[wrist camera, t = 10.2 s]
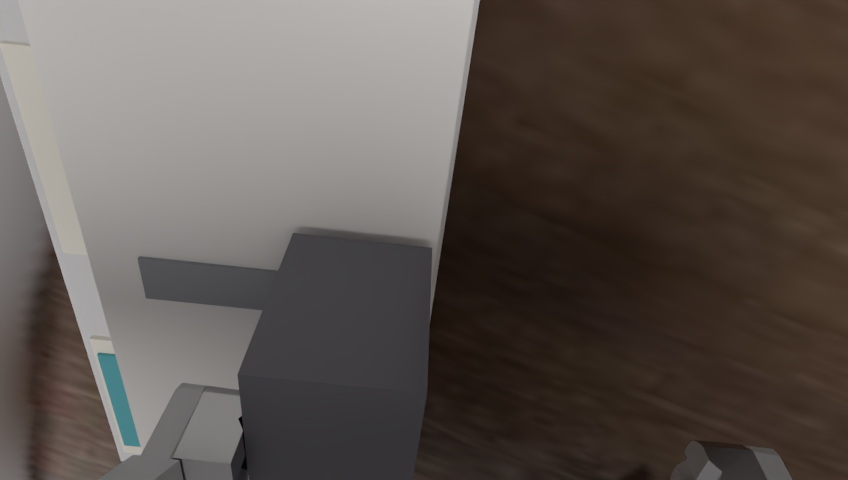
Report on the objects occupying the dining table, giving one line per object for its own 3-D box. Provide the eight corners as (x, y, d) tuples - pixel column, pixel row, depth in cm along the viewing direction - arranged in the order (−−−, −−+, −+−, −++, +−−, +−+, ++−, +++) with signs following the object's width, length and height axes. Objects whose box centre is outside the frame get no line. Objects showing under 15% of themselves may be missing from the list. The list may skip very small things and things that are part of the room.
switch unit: (405, 468, 28) (396, 606, 23) (131, 442, 27) (59, 578, 22) (564, -584, 10) (682, -1002, 5) (-201, -706, 10) (-900, -1298, 5)
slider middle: (414, 374, 15) (404, 528, 11) (296, 363, 15) (252, 514, 11) (432, 247, 12) (427, 393, 9) (293, 232, 12) (237, 374, 9)
